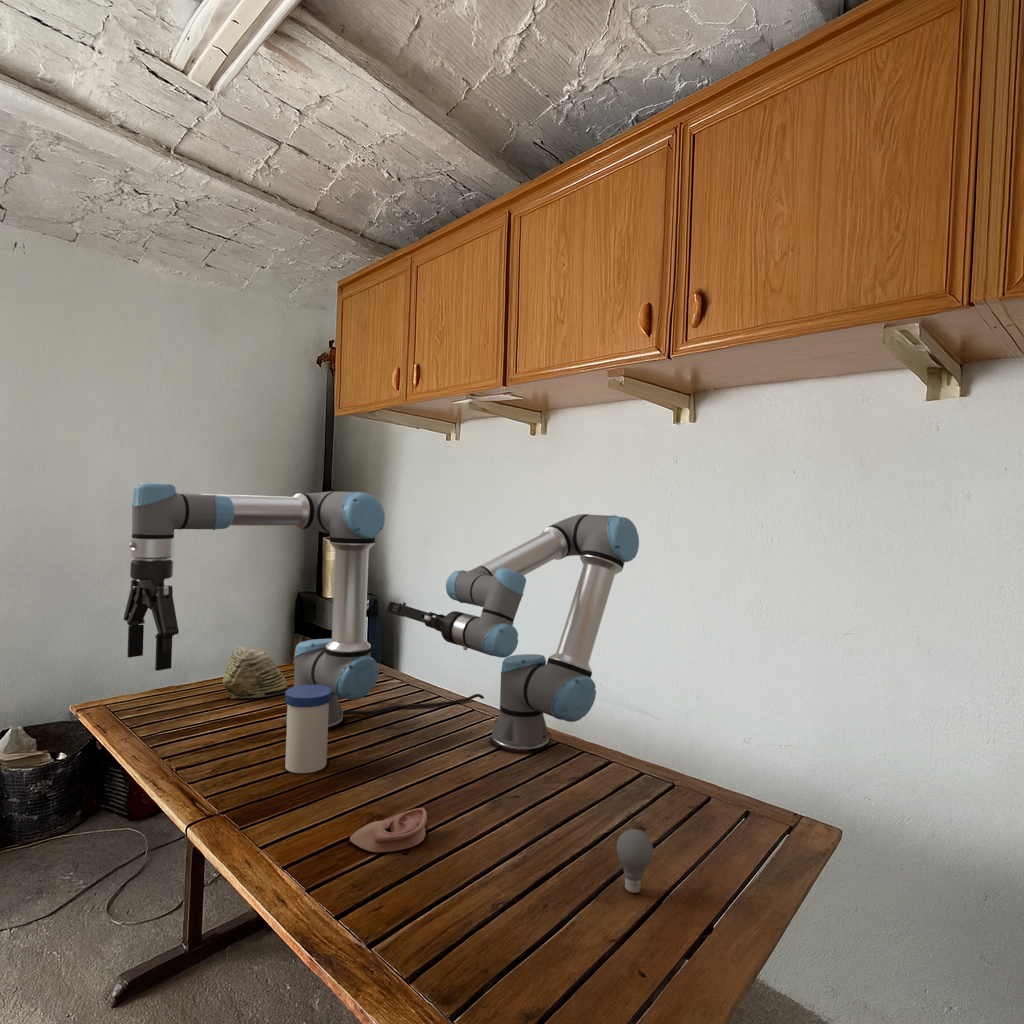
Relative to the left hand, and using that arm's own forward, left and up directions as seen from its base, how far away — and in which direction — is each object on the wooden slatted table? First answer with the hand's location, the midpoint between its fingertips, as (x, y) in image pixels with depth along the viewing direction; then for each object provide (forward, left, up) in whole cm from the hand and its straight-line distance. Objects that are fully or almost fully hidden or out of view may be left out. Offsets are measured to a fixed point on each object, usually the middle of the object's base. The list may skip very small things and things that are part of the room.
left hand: (148, 662), depth 129 cm
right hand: (-57, +16, +6) cm, 59 cm away
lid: (-32, +9, -11) cm, 35 cm away
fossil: (-50, -47, -28) cm, 74 cm away
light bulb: (-41, +90, -28) cm, 103 cm away
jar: (-32, +9, -28) cm, 43 cm away
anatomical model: (-24, +48, -28) cm, 60 cm away
